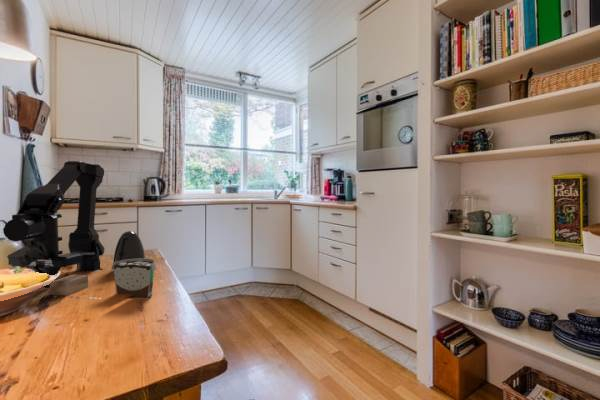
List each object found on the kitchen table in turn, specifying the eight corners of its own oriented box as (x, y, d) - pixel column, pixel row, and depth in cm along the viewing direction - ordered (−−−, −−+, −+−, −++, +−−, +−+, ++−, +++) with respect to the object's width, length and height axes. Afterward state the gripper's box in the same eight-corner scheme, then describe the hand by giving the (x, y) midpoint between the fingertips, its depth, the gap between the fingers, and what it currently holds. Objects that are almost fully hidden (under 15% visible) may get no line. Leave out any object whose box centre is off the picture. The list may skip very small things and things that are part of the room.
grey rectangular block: (50, 294, 80) (49, 282, 80) (73, 286, 87) (73, 274, 86) (66, 295, 79) (65, 282, 79) (88, 286, 86) (87, 275, 86)
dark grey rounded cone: (107, 277, 99) (106, 233, 98) (121, 269, 109) (120, 229, 108) (139, 276, 100) (138, 233, 99) (150, 268, 110) (149, 228, 110)
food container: (165, 291, 86) (165, 258, 85) (153, 299, 80) (152, 263, 79) (126, 290, 87) (126, 257, 86) (111, 297, 81) (111, 262, 80)
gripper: (-16, 238, 77) (-14, 296, 77) (44, 241, 74) (46, 300, 75) (29, 232, 88) (30, 283, 88) (83, 234, 85) (84, 286, 86)
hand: (47, 288), depth 84 cm, fingers closed
